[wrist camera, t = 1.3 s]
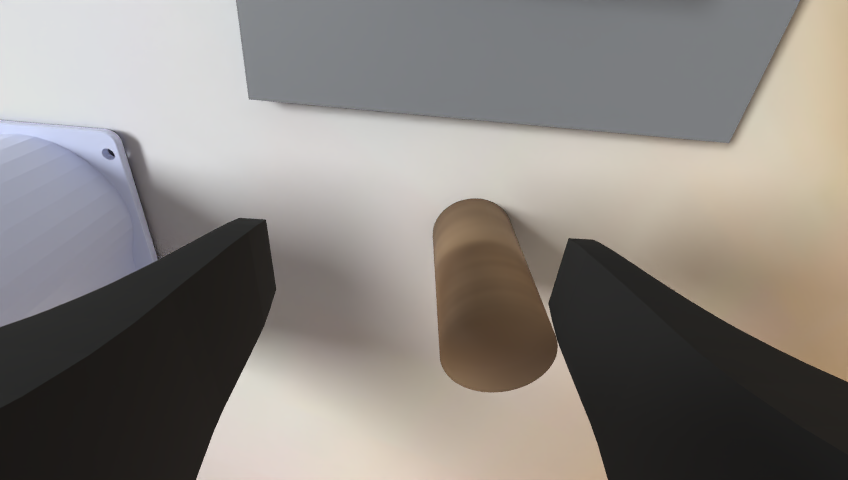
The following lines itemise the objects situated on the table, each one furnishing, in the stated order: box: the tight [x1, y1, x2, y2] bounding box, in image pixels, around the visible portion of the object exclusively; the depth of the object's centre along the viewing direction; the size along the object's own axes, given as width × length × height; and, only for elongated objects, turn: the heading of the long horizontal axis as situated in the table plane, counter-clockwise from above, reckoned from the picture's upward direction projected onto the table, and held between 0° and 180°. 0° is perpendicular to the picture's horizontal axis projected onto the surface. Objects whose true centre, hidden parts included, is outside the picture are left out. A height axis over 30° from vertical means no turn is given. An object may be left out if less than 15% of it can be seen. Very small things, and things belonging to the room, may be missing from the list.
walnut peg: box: [433, 199, 558, 392], centre depth 17 cm, size 4×4×8 cm
